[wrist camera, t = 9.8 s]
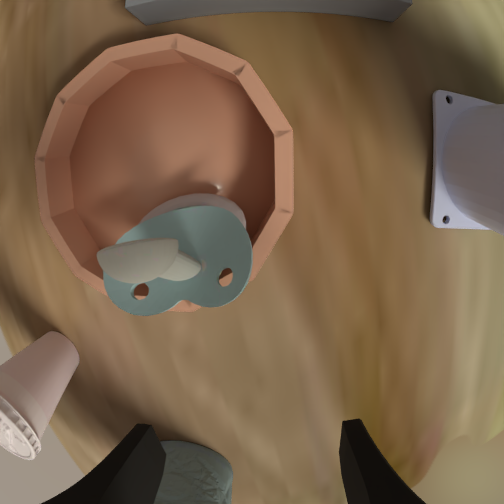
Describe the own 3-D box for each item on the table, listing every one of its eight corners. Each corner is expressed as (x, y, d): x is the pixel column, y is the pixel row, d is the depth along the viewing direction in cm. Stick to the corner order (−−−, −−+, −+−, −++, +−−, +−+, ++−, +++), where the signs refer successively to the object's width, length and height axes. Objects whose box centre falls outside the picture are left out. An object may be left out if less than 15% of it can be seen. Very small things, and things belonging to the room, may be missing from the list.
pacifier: (131, 217, 17) (132, 321, 16) (56, 168, 12) (41, 306, 10) (253, 184, 16) (269, 303, 14) (208, 105, 10) (221, 276, 8)
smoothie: (22, 332, 22) (-75, 431, 8) (55, 303, 20) (-68, 423, 7) (68, 388, 23) (-8, 500, 10) (108, 368, 22) (21, 510, 8)
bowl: (286, 45, 14) (288, 25, 11) (289, 287, 18) (291, 313, 16) (63, 78, 15) (34, 72, 12) (82, 283, 19) (58, 302, 16)
